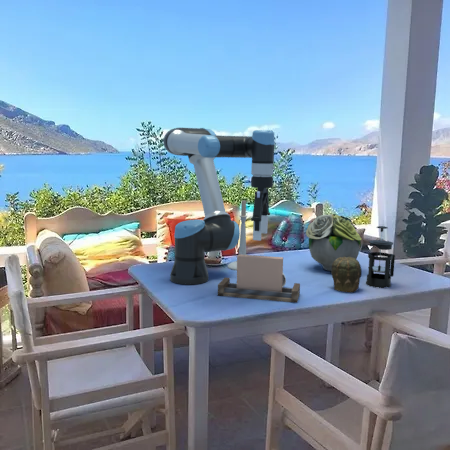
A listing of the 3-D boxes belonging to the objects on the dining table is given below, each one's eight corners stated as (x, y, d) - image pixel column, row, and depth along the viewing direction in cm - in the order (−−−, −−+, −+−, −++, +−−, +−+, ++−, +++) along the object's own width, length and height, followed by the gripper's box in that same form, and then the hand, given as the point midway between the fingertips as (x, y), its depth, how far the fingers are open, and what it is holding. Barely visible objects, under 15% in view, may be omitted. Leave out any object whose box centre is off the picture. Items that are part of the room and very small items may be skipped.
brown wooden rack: (217, 295, 170) (217, 284, 170) (224, 287, 180) (224, 277, 179) (297, 302, 164) (297, 291, 163) (299, 294, 173) (300, 283, 173)
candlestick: (256, 264, 218) (257, 198, 213) (257, 271, 205) (259, 201, 200) (228, 263, 218) (229, 197, 213) (227, 270, 205) (228, 200, 201)
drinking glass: (278, 283, 193) (282, 291, 178) (262, 278, 193) (265, 286, 178) (284, 267, 192) (288, 274, 177) (268, 262, 192) (271, 269, 177)
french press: (374, 289, 181) (378, 229, 178) (359, 282, 190) (362, 225, 186) (399, 286, 185) (404, 227, 182) (383, 280, 194) (387, 223, 190)
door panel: (236, 291, 172) (237, 256, 170) (238, 289, 175) (238, 254, 173) (280, 295, 168) (282, 259, 166) (282, 292, 171) (283, 257, 169)
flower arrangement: (292, 268, 211) (294, 213, 207) (327, 260, 227) (329, 209, 224) (340, 280, 193) (343, 220, 189) (374, 270, 209) (377, 215, 205)
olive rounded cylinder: (355, 284, 187) (356, 254, 185) (364, 293, 176) (366, 261, 174) (327, 284, 186) (328, 254, 184) (334, 293, 176) (336, 261, 174)
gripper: (267, 178, 152) (265, 244, 156) (277, 174, 176) (275, 231, 180) (244, 177, 154) (242, 242, 157) (257, 173, 178) (256, 230, 181)
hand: (260, 236), depth 169 cm, fingers open, 13 cm apart
